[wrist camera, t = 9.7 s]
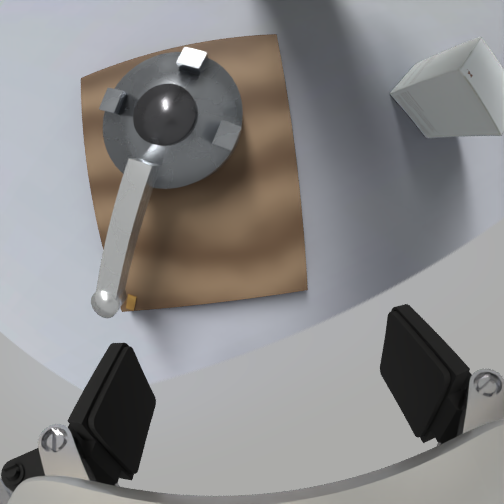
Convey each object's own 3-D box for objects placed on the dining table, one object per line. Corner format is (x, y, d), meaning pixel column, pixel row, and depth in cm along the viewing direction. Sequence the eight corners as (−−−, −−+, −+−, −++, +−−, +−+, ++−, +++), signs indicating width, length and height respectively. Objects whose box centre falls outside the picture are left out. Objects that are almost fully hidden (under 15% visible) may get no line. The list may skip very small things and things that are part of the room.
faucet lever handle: (149, 55, 21) (126, 30, 15) (261, 88, 23) (269, 65, 17) (81, 267, 27) (50, 291, 21) (176, 307, 29) (162, 342, 23)
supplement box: (426, 140, 27) (502, 139, 15) (387, 93, 25) (457, 66, 13) (451, 106, 25) (521, 98, 13) (415, 62, 24) (481, 34, 12)
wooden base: (89, 82, 23) (80, 77, 21) (274, 41, 23) (276, 33, 21) (127, 303, 31) (121, 312, 29) (303, 282, 31) (308, 290, 29)
